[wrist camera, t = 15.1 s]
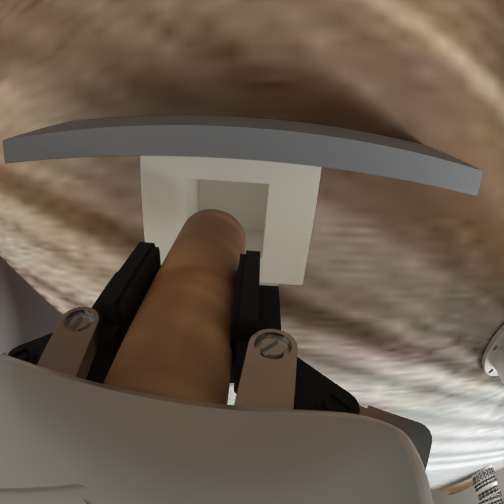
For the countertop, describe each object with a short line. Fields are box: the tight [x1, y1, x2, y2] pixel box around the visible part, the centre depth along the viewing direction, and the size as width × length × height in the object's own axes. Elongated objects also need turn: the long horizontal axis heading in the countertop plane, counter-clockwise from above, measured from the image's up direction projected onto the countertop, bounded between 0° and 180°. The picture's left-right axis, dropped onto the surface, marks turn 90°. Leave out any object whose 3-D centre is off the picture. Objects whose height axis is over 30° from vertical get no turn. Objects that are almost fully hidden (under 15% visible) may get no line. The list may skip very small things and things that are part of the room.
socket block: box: [140, 156, 322, 285], centre depth 20 cm, size 10×8×5 cm
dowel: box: [103, 209, 246, 405], centre depth 11 cm, size 3×3×10 cm
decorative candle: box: [472, 465, 504, 504], centre depth 51 cm, size 9×9×25 cm
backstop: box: [3, 115, 483, 286], centre depth 21 cm, size 28×18×8 cm, turn 86°
